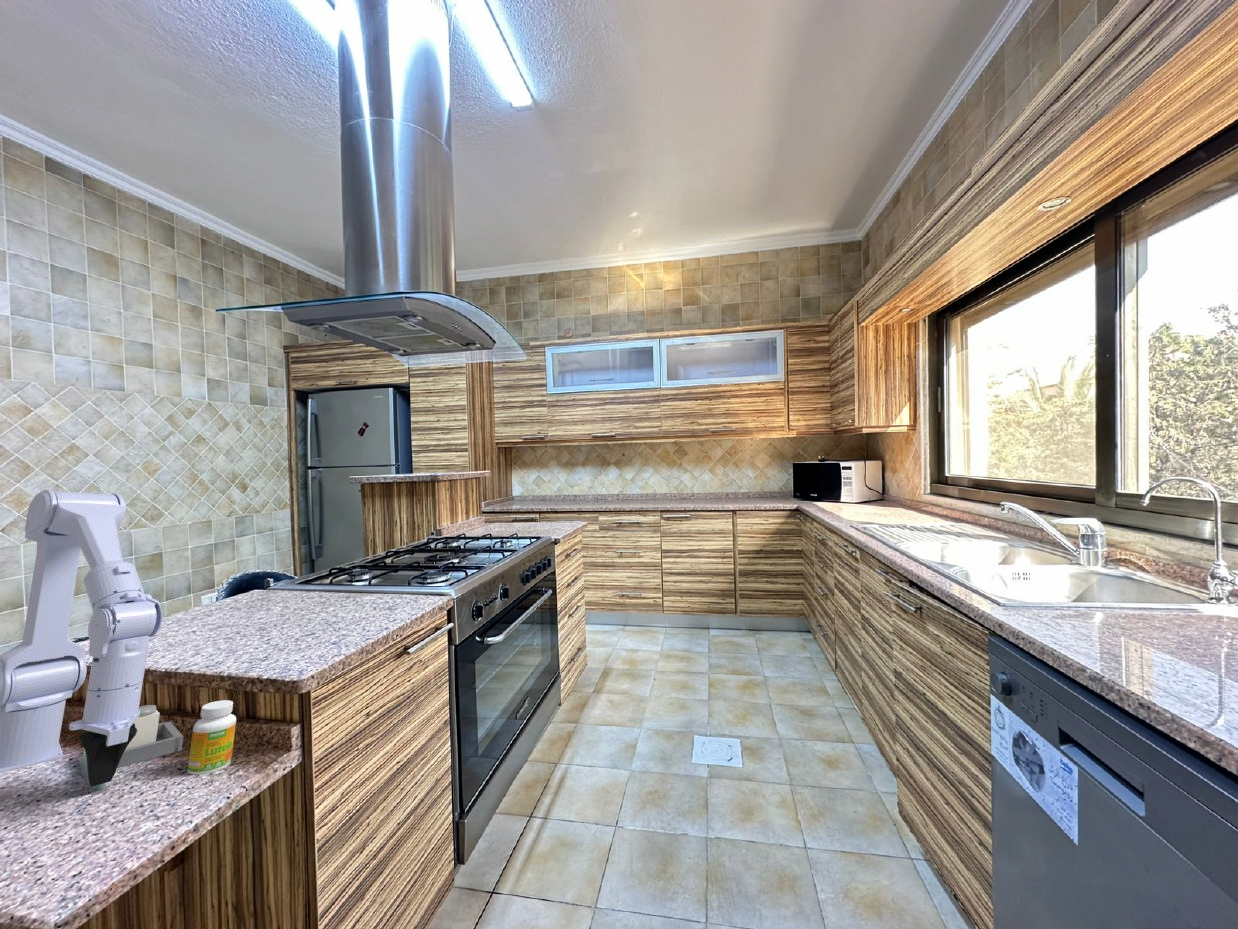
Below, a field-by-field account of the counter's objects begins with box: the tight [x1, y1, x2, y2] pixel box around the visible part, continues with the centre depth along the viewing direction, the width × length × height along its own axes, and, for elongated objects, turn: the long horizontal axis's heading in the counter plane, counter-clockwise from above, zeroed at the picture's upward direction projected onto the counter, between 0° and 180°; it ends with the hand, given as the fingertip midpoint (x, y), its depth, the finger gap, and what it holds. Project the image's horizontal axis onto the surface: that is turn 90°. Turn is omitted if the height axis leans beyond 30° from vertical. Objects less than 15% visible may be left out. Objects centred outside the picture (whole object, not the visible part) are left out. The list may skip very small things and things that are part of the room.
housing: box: [77, 721, 184, 797], centre depth 77 cm, size 18×11×2 cm, turn 54°
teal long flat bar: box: [81, 748, 104, 789], centre depth 73 cm, size 13×1×3 cm, turn 54°
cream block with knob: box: [126, 704, 161, 749], centre depth 80 cm, size 4×4×7 cm
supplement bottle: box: [187, 699, 237, 776], centre depth 77 cm, size 5×5×10 cm
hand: (100, 782), depth 69 cm, fingers closed
